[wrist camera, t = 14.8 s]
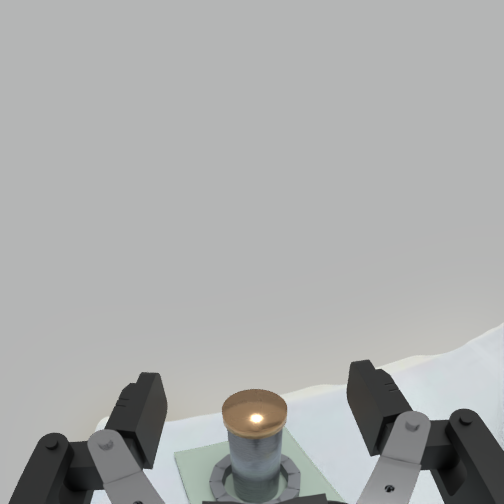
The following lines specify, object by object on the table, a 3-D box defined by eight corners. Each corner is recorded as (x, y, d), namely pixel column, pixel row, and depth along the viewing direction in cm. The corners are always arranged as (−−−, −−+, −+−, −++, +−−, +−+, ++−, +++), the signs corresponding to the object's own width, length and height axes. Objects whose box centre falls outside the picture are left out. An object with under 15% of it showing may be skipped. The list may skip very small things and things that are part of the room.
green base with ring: (283, 428, 40) (283, 415, 39) (352, 515, 24) (357, 504, 23) (175, 456, 34) (171, 443, 34) (215, 566, 18) (212, 559, 17)
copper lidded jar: (269, 464, 32) (270, 383, 29) (289, 496, 27) (298, 418, 24) (225, 477, 30) (214, 397, 27) (242, 511, 25) (234, 437, 22)
